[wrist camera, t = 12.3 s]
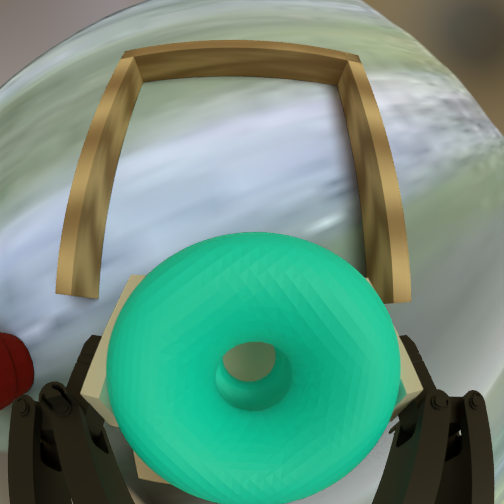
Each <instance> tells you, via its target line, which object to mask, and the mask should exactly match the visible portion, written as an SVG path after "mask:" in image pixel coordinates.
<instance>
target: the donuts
mask: <svg viewBox="0 0 504 504" xmlns="http://www.w3.org/2000/svg"><path fill="white" fill-rule="evenodd" d="M247 342H263V343H268V344H271V345H273V347H274V350H275V363H274V367H273V368H272V370H271V371H270V372H269V373H268V374H267V375H266V376H265V377H263V378H262V379H259V380H256V381H242V380H238V379H236V378H235V377H233V376H232V375H230V374H229V373H228V371H227V370H226V368H225V366H224V363H223V356H224V355H225V354H226V353H227V352H228V351H229V350H230V349H232V348H234V347H235V346H237V345H240V344H243V343H247ZM400 375H401V360H400V351H399V344H398V339H397V335H396V332H395V329H394V326H393V323H392V320H391V318H390V315H389V313H388V311H387V309H386V307H385V305H384V304H383V302H382V300H381V299H380V297H379V295H378V294H377V293H376V291H375V290H374V288H373V287H372V286H371V285H370V283H369V282H368V281H367V280H366V279H365V278H364V277H363V276H362V275H361V274H360V273H359V272H358V271H357V270H356V269H355V268H354V267H353V266H351V265H350V264H349V263H348V262H346V261H345V260H343V259H342V258H341V257H339V256H338V255H336V254H334V253H332V252H331V251H329V250H327V249H325V248H323V247H321V246H319V245H317V244H314V243H312V242H309V241H306V240H303V239H300V238H296V237H293V236H288V235H283V234H276V233H266V232H243V233H235V234H228V235H223V236H218V237H214V238H211V239H207V240H204V241H201V242H199V243H196V244H194V245H191V246H189V247H187V248H185V249H183V250H181V251H179V252H177V253H175V254H174V255H172V256H171V257H169V258H167V259H166V260H165V261H163V262H162V263H161V264H159V265H158V266H157V267H156V268H154V269H153V270H152V271H151V272H150V273H149V274H148V275H147V276H146V277H145V278H144V279H143V280H142V281H141V282H140V283H139V284H138V285H137V286H136V288H135V289H134V290H133V292H132V293H131V294H130V296H129V297H128V299H127V300H126V302H125V304H124V305H123V307H122V309H121V311H120V313H119V315H118V317H117V319H116V322H115V324H114V327H113V330H112V333H111V336H110V341H109V345H108V351H107V360H106V381H107V389H108V395H109V400H110V404H111V407H112V411H113V414H114V416H115V419H116V421H117V424H118V426H119V428H120V430H121V432H122V434H123V435H124V437H125V439H126V440H127V442H128V443H129V445H130V446H131V448H132V449H133V450H134V452H135V453H136V454H137V455H138V457H139V458H140V459H141V460H142V461H143V462H144V463H145V464H146V465H147V466H148V467H149V468H150V469H151V470H152V471H154V472H155V473H156V474H157V475H159V476H160V477H161V478H163V479H164V480H166V481H167V482H168V483H170V484H172V485H173V486H175V487H177V488H179V489H181V490H182V491H184V492H186V493H189V494H191V495H193V496H196V497H199V498H202V499H204V500H207V501H211V502H215V503H219V504H285V503H289V502H292V501H296V500H300V499H303V498H306V497H308V496H311V495H313V494H315V493H317V492H319V491H321V490H323V489H325V488H327V487H329V486H331V485H332V484H334V483H336V482H337V481H339V480H340V479H341V478H343V477H344V476H346V475H347V474H348V473H349V472H351V471H352V470H353V469H354V468H355V467H356V466H357V465H358V464H359V463H360V462H361V461H362V460H363V459H364V458H365V457H366V456H367V455H368V454H369V452H370V451H371V450H372V449H373V447H374V446H375V445H376V443H377V442H378V440H379V439H380V437H381V436H382V434H383V432H384V430H385V428H386V427H387V425H388V423H389V420H390V418H391V415H392V413H393V410H394V407H395V404H396V400H397V396H398V392H399V385H400Z"/></svg>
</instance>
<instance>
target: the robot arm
mask: <svg viewBox="0 0 504 504" xmlns="http://www.w3.org/2000/svg"><path fill="white" fill-rule="evenodd" d="M145 277H146V276H145V275H131V276H130V278H129V280H128V282H127V284H126V286H125V288H124V290H123V292H122V294H121V296H120V298H119V300H118V303H117V305H116V307H115V309H114V311H113V313H112V315H111V318H110V320H109V322H108V324H107V327H106V329H105V331H104V333H103V336H96V335H92V336H91V337H90V338H89V339H88V340H87V341H86V342H85V344H84V346H83V348H82V350H81V354H80V355H79V357H78V360H77V363H76V364H75V367H74V369H73V372H72V374H71V377H70V379H69V382H68V384H67V387H65V386H64V385H63V384H62V383H59V382H50V383H48V384H46V385H45V386H44V387H43V388H42V389H41V391H40V394H39V401H40V402H35V401H34V400H33V399H32V398H31V397H30V396H28V395H21V396H19V397H18V398H16V400H15V401H14V403H13V407H12V413H11V421H10V432H9V446H8V483H9V496H10V504H72V501H73V504H135V503H134V501H133V499H132V497H131V495H130V493H129V491H128V489H127V486H126V484H125V482H124V480H123V477H122V475H121V472H120V470H119V467H118V465H117V462H116V460H115V457H114V454H113V452H112V449H111V446H110V443H109V440H108V437H107V434H106V431H105V429H104V427H103V423H104V420H105V421H106V422H107V423H108V424H109V425H112V426H116V427H119V426H118V424H117V421H116V419H115V416H114V414H113V411H112V407H111V404H110V400H109V395H108V389H107V381H106V360H107V351H108V345H109V341H110V336H111V333H112V330H113V327H114V324H115V322H116V319H117V317H118V315H119V313H120V311H121V309H122V307H123V305H124V304H125V302H126V300H127V299H128V297H129V296H130V294H131V293H132V292H133V290H134V289H135V288H136V286H137V285H138V284H139V283H140V282H141V281H142V280H143V279H144V278H145ZM365 279H366V280H367V281H368V282H369V283H370V285H371V286H372V284H371V282H370V281H369V279H368V278H365ZM372 287H373V286H372ZM374 290H375V289H374ZM393 326H394V325H393ZM394 329H395V327H394ZM395 332H396V335H397V339H398V344H399V351H400V360H401V375H400V385H399V392H398V396H397V400H396V404H395V407H394V410H393V413H392V415H391V418H390V420H389V422H391V421H392V420H393V419H395V418H396V417H397V416H398V417H399V420H400V421H399V422H398V423H397V424H396V425H394V426H393V427H392V428H391V429H390V431H389V434H391V433H392V432H393V431H394V430H395V433H394V437H393V441H392V445H391V449H390V452H389V456H388V459H387V463H386V466H385V469H384V472H383V475H382V478H381V481H380V484H379V486H378V489H377V492H376V494H375V497H374V500H373V502H372V504H494V463H493V451H492V442H491V434H490V427H489V421H488V416H487V410H486V405H485V401H484V398H483V396H482V395H481V394H480V393H479V392H477V391H475V390H471V391H469V392H468V393H467V394H466V395H464V396H463V397H449V396H448V395H447V394H446V393H445V392H444V391H442V390H439V389H436V387H435V385H434V383H433V381H432V379H431V376H430V374H429V372H428V370H427V368H426V366H425V363H424V361H422V357H421V355H420V354H419V351H418V349H417V347H416V345H415V343H414V342H413V341H412V340H411V339H410V338H409V337H408V336H407V335H403V336H399V335H398V333H397V331H396V329H395ZM460 430H461V436H460V434H459V431H460ZM71 498H72V501H71Z"/></svg>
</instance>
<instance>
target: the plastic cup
mask: <svg viewBox="0 0 504 504" xmlns="http://www.w3.org/2000/svg"><path fill="white" fill-rule="evenodd" d="M33 379H34V370H33V363H32V360H31V357H30V354H29V352H28V350H27V348H26V347H25V345H24V343H23V342H22V341H21V340H20V339H18V338H17V337H16V336H13V335H11V334H6V333H1V332H0V410H2V409H3V408H5V407H6V406H8V405H9V404H11V403H12V402H13V400H15V399H16V398H18V397H19V396H21V395H23V394H24V393H26V392H27V391H28V390H29V389H30V388H31V386H32V384H33Z"/></svg>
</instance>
